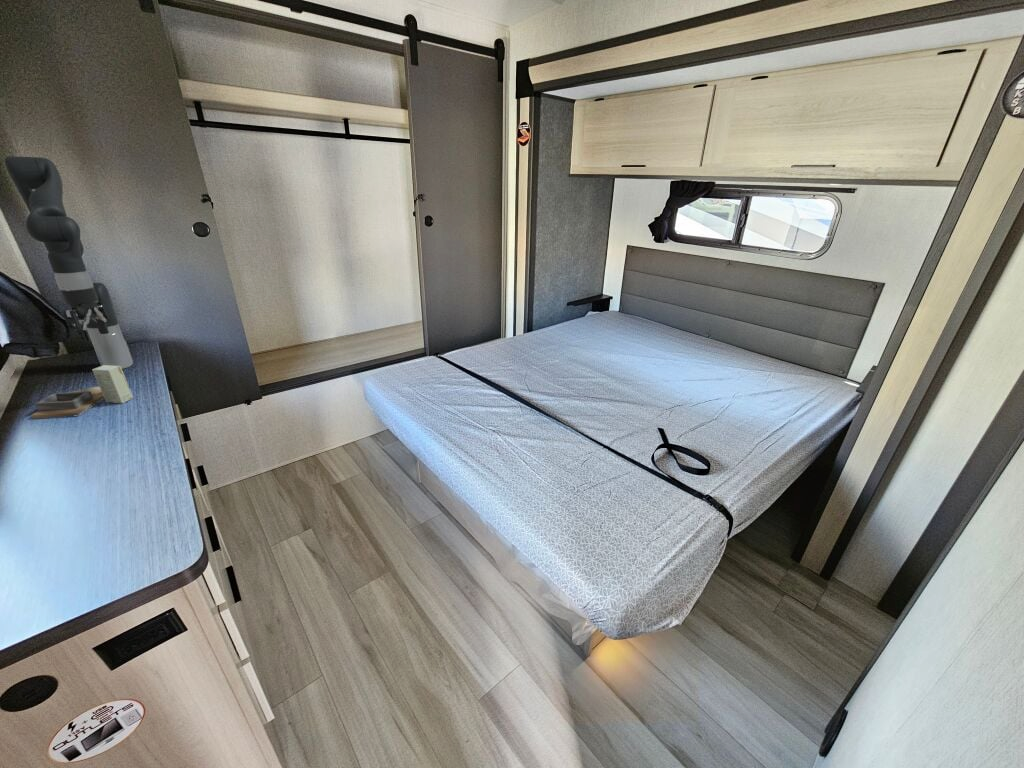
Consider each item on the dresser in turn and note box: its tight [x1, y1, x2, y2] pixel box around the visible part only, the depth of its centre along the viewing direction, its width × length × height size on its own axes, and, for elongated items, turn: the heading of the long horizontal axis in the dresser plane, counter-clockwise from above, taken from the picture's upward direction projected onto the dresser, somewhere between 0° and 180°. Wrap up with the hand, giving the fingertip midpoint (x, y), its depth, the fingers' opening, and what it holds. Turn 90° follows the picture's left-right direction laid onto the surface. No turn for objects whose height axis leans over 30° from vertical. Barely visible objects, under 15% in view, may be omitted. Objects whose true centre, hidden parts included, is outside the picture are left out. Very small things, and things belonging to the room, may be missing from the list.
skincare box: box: [91, 365, 134, 404], centre depth 139 cm, size 6×4×12 cm
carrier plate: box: [30, 386, 105, 420], centre depth 137 cm, size 18×12×4 cm, turn 12°
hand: (95, 337), depth 133 cm, fingers open, 8 cm apart
